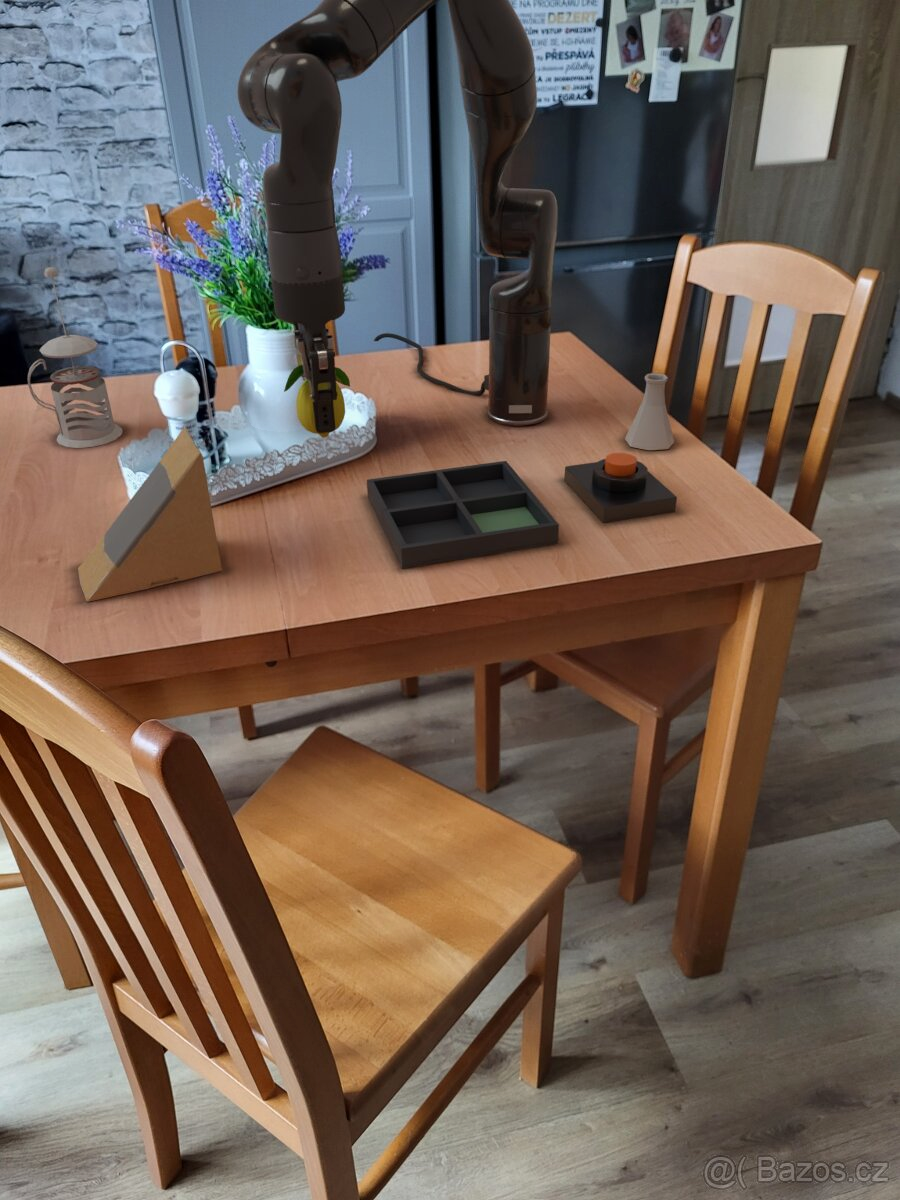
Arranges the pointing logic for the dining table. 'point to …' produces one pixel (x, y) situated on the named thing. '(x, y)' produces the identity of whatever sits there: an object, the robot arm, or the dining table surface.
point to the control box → (619, 492)
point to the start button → (620, 464)
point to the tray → (459, 514)
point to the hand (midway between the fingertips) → (321, 420)
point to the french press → (81, 424)
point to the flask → (652, 418)
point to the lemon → (306, 403)
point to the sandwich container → (158, 530)
